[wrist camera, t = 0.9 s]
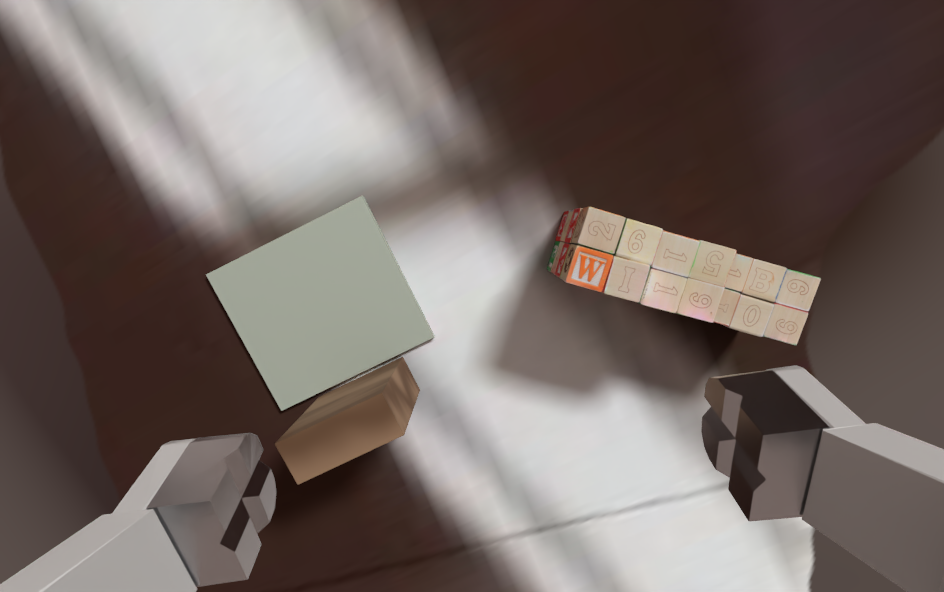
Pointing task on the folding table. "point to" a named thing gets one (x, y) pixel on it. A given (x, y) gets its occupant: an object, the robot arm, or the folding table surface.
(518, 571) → the folding table surface
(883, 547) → the robot arm
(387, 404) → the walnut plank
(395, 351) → the mat
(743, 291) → the stack of blocks
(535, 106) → the folding table surface
